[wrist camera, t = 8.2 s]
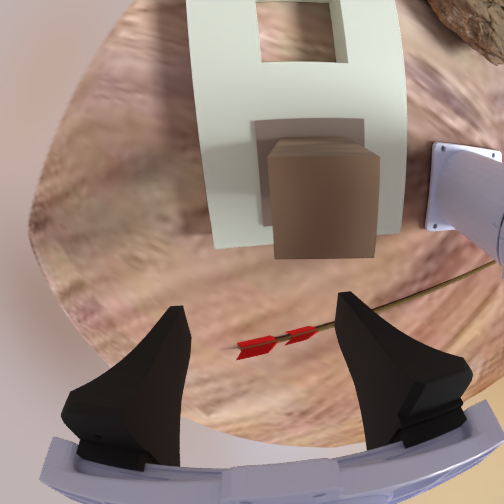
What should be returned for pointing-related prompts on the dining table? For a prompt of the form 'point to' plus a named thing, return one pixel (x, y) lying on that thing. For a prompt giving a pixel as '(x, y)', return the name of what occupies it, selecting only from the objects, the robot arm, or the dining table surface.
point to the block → (323, 198)
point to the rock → (475, 24)
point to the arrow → (268, 342)
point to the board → (293, 107)
